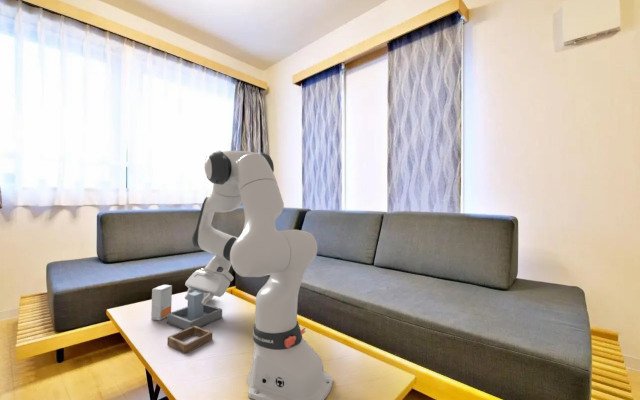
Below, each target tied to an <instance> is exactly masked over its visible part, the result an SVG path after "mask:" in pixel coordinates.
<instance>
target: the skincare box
mask: <svg viewBox="0 0 640 400" xmlns="http://www.w3.org/2000/svg"><path fill="white" fill-rule="evenodd" d="M172 293H173V285H171V284H170V285H169V284H162V285H158V286H157V287H154V288H152V289H151V312H150V313H151V316H150V319H151V320H155V321H162V320H163V319H165V318H167V314H168V313H171V312H172V301H173V299H172V295H173V294H172Z"/></svg>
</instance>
